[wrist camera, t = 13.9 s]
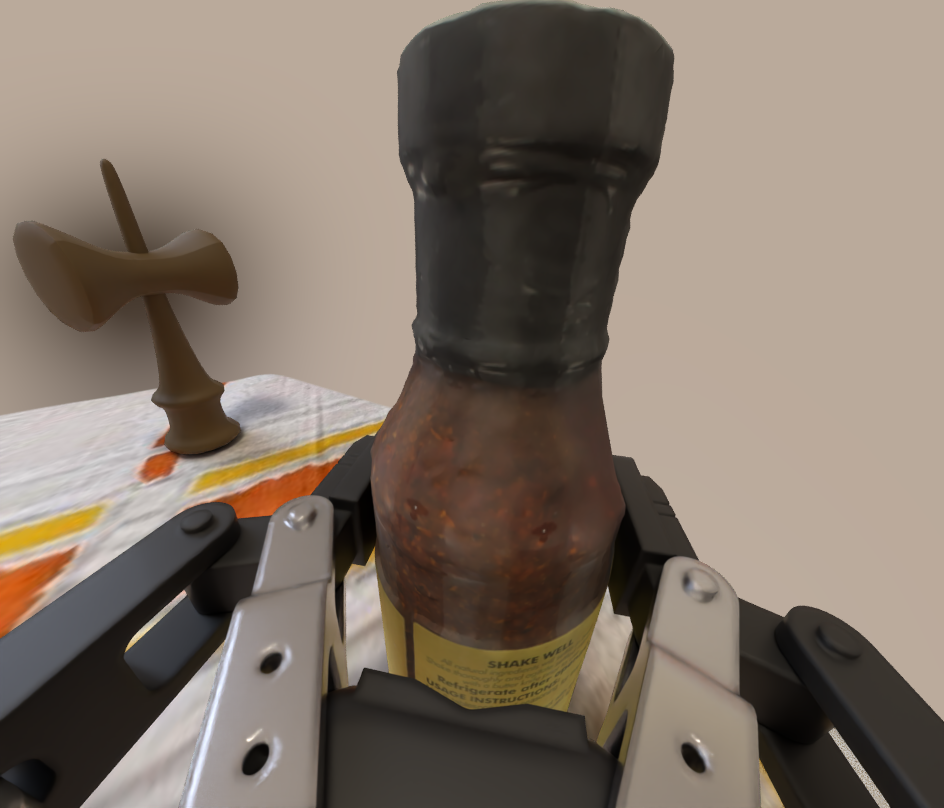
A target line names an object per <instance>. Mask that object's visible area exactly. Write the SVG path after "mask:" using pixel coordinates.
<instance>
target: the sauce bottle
mask: <svg viewBox="0 0 944 808" xmlns="http://www.w3.org/2000/svg"><path fill="white" fill-rule="evenodd" d="M673 64H674V54H673V50H672V48H671V47H670V45H669V44H668V42H667V41H666V40H665V39H664V37H663V36H662V35H660V33H659V32H658V31H657V30H656V29H655V28H654V27H653V26H652V25H651V24H649V23H648V22H646V21H645V20H643V19H641V18H640V17H637V16H634V15H632V14H629V13H627V12H625V11H623V10H619V9H615V8H597V7H592V6H588V5H583V4H580V3H577V2H575V1H573V0H503V1H496V2H489V3H482V4H480V5H479V6H477V7H475V8H473V9H472V10H470V11H466V12H461V13H457V14H454V15H451V16H448V17H445V18H443V19H440V20H438V21H436V22H434V23H432V24H430V25H428V26H426V27H424V28H423V29H422V30H421V31H420V32H419V33H418V34H417V35H416V36H415V37H414V38H413V39H412V40H411V41H410V43H409V44H408V45H407V46H406V47H405V49H404V51H403V53H402V54H401V58H400V66H399V68H398V71H397V76H398V139H399V157H400V162H401V164H402V166H403V169H404V172H405V174H406V178H407V180H408V183H409V185H410V187H411V189H412V191H413V196H414V202H415V203H414V209H415V210H414V211H415V212H414V214H415V216H414V219H415V220H414V221H415V247H416V249H415V250H416V293H417V305H416V307H417V317H416V319H415V320H414V321H413V324H412V329H413V333H414V338H415V343H416V351H415V354H414V356H413V365H412V368H411V370H410V372H409V375H408V378H407V380H406V382H405V385H404V388H403V390H402V393H401V395H400V397H399V399H398V401H397V403H396V404H395V405H394V406H393V408H392V409H391V410H390V411H389V413H388V415H387V417H386V419H385V421H384V423H383V425H382V426H381V428H380V430H379V432H378V434H377V436H376V438H375V440H374V443H373V446H372V448H371V451H370V453H371V457H372V469H371V476H370V479H371V490H372V497H373V504H374V515H375V522H376V533H377V538H376V543H375V564H376V572H377V580H378V588H379V596H380V604H381V612H382V620H383V628H384V636H385V644H386V652H387V660H388V668H389V673H391V674H396V675H400V676H405V677H409V678H414V679H417V680H418V681H420V682H422V683H423V684H425V685H427V686H428V687H430V688H432V689H433V690H435V691H437V692H439V693H440V694H442V695H444V696H445V697H447V698H449V699H450V700H452V701H454V702H455V703H457V704H459V705H461V706H462V707H464V708H467V709H482V708H491V707H500V706H509V705H518V704H527V703H528V704H532V705H537V706H541V707H546V708H551V709H555V710H560V711H564V712H567V710H568V707H569V703H570V700H571V697H572V694H573V691H574V688H575V684H576V681H577V678H578V675H579V672H580V669H581V666H582V663H583V661H584V658H585V655H586V652H587V649H588V646H589V643H590V640H591V636H592V633H593V630H594V627H595V624H596V621H597V618H598V615H599V612H600V609H601V605H602V602H603V599H604V596H605V593H606V589H607V586H608V583H609V579H610V574H611V569H612V563H613V557H614V546H615V539H616V536H617V533H618V530H619V527H620V524H621V521H622V518H623V517H624V514H625V506H626V505H625V502H624V499H623V496H622V493H621V488H620V485H619V483H618V481H617V477H616V473H615V468H614V462H613V457H612V451H611V446H610V440H609V435H608V428H607V422H606V417H605V410H604V405H603V399H602V373H601V364H602V359H603V357H604V355H605V353H606V350H607V347H608V343H609V336H608V332H607V324H608V318H609V314H610V311H611V307H612V302H613V296H614V292H615V289H616V286H617V283H618V276H619V267H620V264H621V260H622V258H623V254H624V249H625V244H626V239H627V236H628V233H629V230H630V217H631V212H632V210H633V207H634V205H635V203H636V200H637V199H638V197H639V196H640V194H642V192H643V190H644V189H645V187H646V185H647V183H648V181H649V180H650V179H651V177H652V176H653V175H654V172H655V170H656V168H657V166H658V163H659V158H660V153H661V145H662V140H663V135H664V131H665V124H666V120H667V113H668V107H669V101H670V94H671V89H672V85H673V74H674V70H673Z"/></svg>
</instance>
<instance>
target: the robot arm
mask: <svg viewBox="0 0 944 808" xmlns="http://www.w3.org/2000/svg"><path fill="white" fill-rule="evenodd" d="M379 430H380V429H379ZM378 432H379V431H378ZM378 432H377V433H376V435H375V436H369V435H367V436H365V437H363V438H362V439H360V440H358V441H356V442H355V443H353V445H352V446H351V447H350V448H349V449H348V451H347V452H346V453H345V456H344V455H343V457H342V458H341V459H340V460H339V461H338V464H336V465H335V466H334V467H333V469H332V470H331V471H330V472H329V473H328V475H327V476H326V477H325V478H324V479H323V481H322V482H321V483H320V484H319V485H318V487H317V488H316V489H315V490H314V491H313V493H312V494H311V495H309V496H302V497H298V498H295V499H293V500H290V501H288V502H287V503H285V504H283V505H282V506H280V507H279V508H278V509H277V510H276V511H275V512H274V513H273V515H271V516H261V517H250V518H240V519H237V516H236V513H235V511H234V509H233V507H232V506H230V505H229V504H226V503H222V502H211V503H205V504H201V505H197V506H194V507H192V508H189V509H187V510H185V511H183V512H181V513H179V514H178V515H176V516H175V517H173V518H172V519H170V520H169V521H168V522H166V523H165V524H163V525H162V526H160V527H159V528H158V529H156V530H155V531H153V532H152V533H150V534H149V535H148V536H146V537H145V538H143V539H142V540H140V541H139V542H138V543H136V544H135V545H133V546H132V547H130V548H129V549H128V550H126V551H125V552H123V553H122V554H120V555H119V556H118V557H116V558H115V559H113V560H112V561H110V562H109V563H108V564H106V565H105V566H103V567H102V568H101V569H99V570H98V571H96V572H95V573H93V574H92V575H91V576H89V577H88V578H86V579H85V580H83V581H82V582H81V583H79V584H78V585H76V586H75V587H73V588H72V589H71V590H69V591H68V592H66V593H65V594H63V595H62V596H61V597H59V598H58V599H56V600H55V601H53V602H52V603H51V604H49V605H48V606H46V607H45V608H43V609H42V610H41V611H39V612H38V613H36V614H35V615H34V616H32V617H31V618H29V619H28V620H26V621H25V622H24V623H22V624H21V625H19V626H18V627H16V628H15V629H14V630H12V631H11V632H9V633H8V634H6V635H5V636H4V637H2V638H1V639H0V808H80V807H81V805H82V804H83V803H84V802H85V801H86V800H87V799H88V797H89V796H90V795H91V794H92V793H93V792H94V790H95V789H96V788H97V787H98V786H99V785H100V783H101V782H102V781H103V780H104V779H105V778H106V777H107V775H108V774H109V773H110V772H111V771H112V770H113V768H114V767H115V766H116V765H117V764H118V763H119V762H120V760H121V759H122V758H123V757H124V756H125V755H126V753H127V752H128V751H129V750H130V749H131V748H132V747H133V745H134V744H135V743H136V742H137V741H138V740H139V738H140V737H141V736H142V735H143V734H144V733H145V732H146V730H147V729H148V728H149V727H150V726H151V725H152V723H153V722H154V721H155V720H156V719H157V718H158V717H159V715H160V714H161V713H162V712H163V711H164V710H165V708H166V707H167V706H168V705H169V704H170V703H171V702H172V700H173V699H174V698H175V697H176V696H177V695H178V693H179V692H180V691H181V690H182V689H183V688H184V687H185V685H186V684H187V683H188V682H189V681H190V680H191V678H192V677H193V676H194V675H195V674H196V673H197V672H198V670H199V669H200V668H201V667H202V666H203V665H204V663H205V662H206V661H207V660H208V659H209V658H210V657H211V655H212V654H213V653H214V652H215V651H216V650H217V648H218V647H219V646H220V645H221V644H222V643H223V642H224V640H225V639H226V640H225V644H224V647H223V651H222V654H221V658H220V661H219V665H218V668H217V672H216V676H215V679H214V683H213V686H212V690H211V693H210V697H209V701H208V704H207V708H206V711H205V715H204V718H203V722H202V725H201V729H200V733H199V736H198V740H197V743H196V747H195V750H194V754H193V758H192V761H191V765H190V768H189V772H188V775H187V779H186V782H185V786H184V790H183V793H182V797H181V800H180V804H179V807H178V808H761V799H760V773H759V759H760V760H761V762H762V764H763V766H764V768H765V770H766V772H767V774H768V776H769V778H770V780H771V782H772V784H773V786H774V787H775V789H776V791H777V793H778V795H779V797H780V799H781V801H782V803H783V805H784V807H785V808H880V807H879V806H878V804H877V803H876V802H875V800H874V799H873V797H872V796H871V794H870V793H869V791H868V790H867V788H866V787H865V785H864V784H863V782H862V781H861V779H860V778H859V777H858V775H857V774H856V772H855V771H854V769H853V768H852V766H851V765H850V763H849V762H848V760H847V759H846V757H845V756H844V755H843V753H842V752H841V750H840V749H839V747H838V746H837V744H836V743H835V741H834V740H833V738H832V737H831V735H830V734H829V733H828V732H829V731H830V730H832V729H833V728H834V727H835V728H836V730H837V731H838V732H839V734H840V735H841V737H842V738H843V740H844V741H845V742H846V744H847V745H848V747H849V748H850V750H851V751H852V752H853V754H854V755H855V757H856V758H857V759H858V761H859V762H860V764H861V765H862V767H863V768H864V769H865V771H866V772H867V774H868V775H869V777H870V778H871V779H872V781H873V782H874V784H875V785H876V787H877V788H878V789H879V791H880V792H881V794H882V795H883V797H884V798H885V800H886V801H887V803H888V804H889V806H890V808H944V721H943V720H942V719H941V718H940V717H939V716H938V715H937V714H936V713H935V712H934V711H933V710H932V708H931V707H930V706H929V705H928V704H927V703H926V702H925V701H924V700H923V699H922V698H921V697H920V696H919V694H918V693H917V692H915V690H914V689H913V688H912V687H911V686H910V685H909V684H908V683H907V682H906V681H905V680H904V678H903V677H902V676H901V675H900V674H899V673H898V672H897V671H896V670H895V669H894V668H893V666H892V665H890V663H889V662H888V661H887V660H886V659H885V658H884V657H883V656H882V655H881V654H880V653H879V651H878V650H877V649H876V648H875V647H874V646H873V645H872V644H871V643H870V642H869V641H868V640H867V639H866V638H865V637H863V636H862V635H861V634H860V633H859V632H858V631H856V630H855V629H854V628H852V627H851V626H850V625H848V624H847V623H845V622H844V621H842V620H840V619H839V618H837V617H835V616H833V615H831V614H829V613H827V612H825V611H822V610H820V609H817V608H813V607H809V606H797V607H794V608H792V609H791V610H790V611H789V612H788V613H787V615H786V616H785V617H782V616H780V615H777V614H775V613H773V612H770V611H768V610H766V609H763V608H761V607H758V606H756V605H754V604H751V603H749V602H747V601H745V600H742V599H740V598H738V597H737V595H736V593H735V591H734V589H733V588H732V586H731V585H730V584H729V583H728V581H727V580H726V579H725V578H724V577H723V576H722V575H721V574H720V573H718V572H717V571H716V570H714V569H713V568H711V567H710V566H708V565H706V564H704V563H703V562H700V561H699V559H698V558H697V556H696V554H695V552H694V550H693V548H692V546H691V544H690V542H689V540H688V538H687V536H686V534H685V532H684V530H683V529H682V527H681V525H680V523H679V521H678V519H677V518H675V513H674V511H673V509H672V507H671V506H669V501H668V499H667V497H666V495H665V493H664V492H663V490H662V489H661V488H660V487H659V486H658V485H657V484H656V483H655V482H654V481H653V480H652V479H651V478H650V477H648V476H641V475H640V472H639V470H638V468H637V466H636V464H635V462H634V460H633V458H631V457H624V456H616V455H612V457H613V462H614V468H615V473H616V477H617V481H618V483H619V485H620V488H621V493H622V496H623V499H624V502H625V505H626V506H625V514H624V517H623V518H622V521H621V524H620V527H619V530H618V533H617V536H616V539H615V546H614V557H613V563H612V569H611V574H610V579H609V583H608V588H609V593H610V597H611V602H612V606H613V611H614V614H618V615H624V616H629V617H630V619H631V623H632V626H633V629H632V631H631V633H630V635H629V638H628V641H627V645H626V648H625V652H624V655H623V659H622V662H621V666H620V669H619V673H618V676H617V680H616V683H615V687H614V690H613V694H612V697H611V701H610V704H609V708H608V711H607V714H606V717H605V719H604V722H603V724H602V727H601V729H600V732H599V735H598V738H597V741H596V742H595V741H593V740H591V739H589V738H588V737H587V732H586V723H585V716H582V715H578V714H573V713H569V712H564V711H560V710H555V709H551V708H546V707H541V706H537V705H532V704H528V703H527V704H518V705H509V706H500V707H491V708H482V709H467V708H464V707H462V706H461V705H459V704H457V703H455V702H454V701H452V700H450V699H449V698H447V697H445V696H444V695H442V694H440V693H439V692H437V691H435V690H433V689H432V688H430V687H428V686H427V685H425V684H423V683H422V682H420V681H418V680H417V679H414V678H409V677H405V676H400V675H396V674H391V673H386V672H382V671H377V670H373V669H368V668H364V669H363V671H362V674H361V677H360V679H359V682H358V685H356V686H348V671H347V660H346V581H345V575H346V574H347V572H348V570H349V568H350V566H351V564H356V565H362V566H365V565H366V563H367V561H368V559H369V557H370V555H371V553H372V551H373V549H374V547H375V543H376V538H377V533H376V522H375V515H374V504H373V497H372V490H371V479H370V476H371V469H372V457H371V453H370V451H371V448H372V446H373V443H374V440H375V438H376V436H377V434H378ZM183 590H185V592H186V594H187V596H186V597H185V598H184V599H183V600H181V601H180V602H179V603H178V604H177V605H176V606H175V607H174V608H173V609H172V610H171V611H170V612H169V613H167V614H166V615H165V616H164V617H163V618H162V619H161V620H160V621H159V622H158V623H157V624H156V625H154V626H153V627H152V628H151V629H150V630H149V631H148V632H147V633H146V634H145V635H144V636H143V637H142V638H140V639H139V640H138V641H137V642H136V643H135V644H134V645H133V646H132V647H131V648H130V649H129V650H128V651H126V652H125V650H126V647H127V645H128V644H129V642H130V640H131V639H132V638H133V636H134V635H135V634H136V633H137V632H138V631H139V630H140V629H141V628H142V627H143V626H144V625H145V624H146V623H148V622H149V621H150V620H151V619H152V618H153V617H154V616H155V615H156V614H158V613H159V612H160V611H161V610H162V609H163V608H164V607H165V606H166V605H167V604H169V603H170V602H171V601H172V600H173V599H174V598H175V597H176V596H177V595H179V594H180V593H181V592H182V591H183Z"/></svg>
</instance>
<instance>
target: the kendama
mask: <svg viewBox="0 0 944 808" xmlns="http://www.w3.org/2000/svg"><path fill="white" fill-rule="evenodd" d="M100 167H101V171H102V175H103V179H104V182H105V185H106V188H107V192H108V194H109V197H110V201H111V204H112V207H113V210H114V212H115V216H116V219H117V222H118V225H119V228H120V231H121V233H122V237H123V240H124V243H125V246H126V249H127V252H118V251H110V250H106V249H102V248H99V247H96V246H94V245H91V244H89V243H87V242H84V241H82V240H80V239H77V238H75V237H73V236H71V235H68V234H66V233H63V232H61V231H59V230H56V229H54V228H51V227H48V226H46V225H44V224H41V223H38V222H35V221H24V222H21V223H18V224H17V225H16V228H15V232H14V236H13V241H14V246H15V250H16V254H17V257H18V260H19V262H20V264H21V266H22V269H23V271H24V273H25V276H26V277H27V279H28V281H29V282H30V284H31V286H32V287H33V289H34V290H35V292H36V294H37V295H38V296H39V298H40V299H41V300H42V302H43V303H44V304H45V305H46V307H47V308H48V309H49V311H50V312H52V313H53V314H54V315H55V316H56V317H57V318H58V319H59V320H60V321H61V322H63V323H64V324H66V325H68V326H69V327H72V328H73V329H75V330H77V331H80V332H88V331H95V330H97V329H99V328H100V327H101V326H103V325H104V324H105V323H106V322H107V321H108V320H109V319H110V318H111V317H112V316H113V315H114V314H115V313H116V312H117V311H118V310H119V309H121V308H122V307H123V306H124V305H126V304H127V303H128V302H130V301H131V300H134V299H135V298H138V297H141V296H142V299H143V303H144V306H145V309H146V314H147V317H148V321H149V325H150V330H151V334H152V338H153V343H154V348H155V353H156V358H157V364H158V371H159V387H158V389H157V391H156V392H155V393H154V394H153V395H152V399H151V401H152V402H153V403H154V404H156V405H157V406H158V407H161V408H163V409H164V410H165V412H166V414H167V417H168V420H169V424H170V430H169V432H168V433H167V434H166V436H165V444H164V445H165V446H166V447H167V448H168V449H169V450H170V451H172V452H176V453H181V454H199V453H203V452H207V451H211V450H214V449H216V448H219V447H221V446H224V445H226V444H227V443H229V442H230V441H232V440H233V439H234V438H235V437H236V436H237V435H238V434H239V432H240V431H241V429H240V424H239V423H238V422H237V421H235V420H234V419H232V418H230V417H227V416H226V415H225V413H224V411H223V409H222V406H221V403H220V398H221V395H222V394H223V393H224V385H223V384H222V383H220V382H218V381H216V380H213V379H212V378H210V377H209V375H208V374H207V373H206V372H205V370H204V369H203V367H202V366H201V364H200V362H199V361H198V359H197V357H196V355H195V354H194V352H193V350H192V348H191V346H190V344H189V342H188V340H187V339H186V337H185V334H184V332H183V331H182V329H181V326H180V324H179V322H178V320H177V318H176V316H175V314H174V312H173V310H172V308H171V305H170V303H169V301H168V298H167V297H166V294H165V293H176V294H183V295H186V296H190V297H193V298H196V299H199V300H202V301H205V302H208V303H211V304H215V305H228V304H230V303H231V302H233V301H234V300H235V299H236V298H237V292H238V281H237V274H236V270H235V267H234V264H233V261H232V259H231V256H230V254H229V253H228V251H227V250H226V248H225V246H224V245H223V243H222V242H221V241H220V240H218V239H217V238H216V237H215V236H214V235H213V234H211V233H208V232H206V231H203V230H199V229H195V230H190V231H187V232H184V233H182V234H181V235H179V236H178V237H176V238H175V239H174V240H173V241H171V242H169V243H168V244H166V245H165V246H163V247H161V248H159V249H156V250H152V251H148V249H147V247H146V244H145V242H144V240H143V237H142V234H141V232H140V229H139V227H138V224H137V221H136V219H135V216H134V214H133V211H132V209H131V206H130V204H129V201H128V199H127V196H126V194H125V191H124V189H123V186H122V184H121V182H120V179H119V177H118V175H117V173H116V171H115V168H114V167H113V165H112V164H111V163H110V162H109V161H108V160H106V159H102V160H101V161H100Z"/></svg>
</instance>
